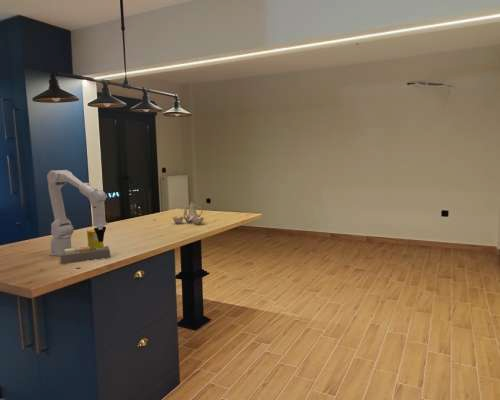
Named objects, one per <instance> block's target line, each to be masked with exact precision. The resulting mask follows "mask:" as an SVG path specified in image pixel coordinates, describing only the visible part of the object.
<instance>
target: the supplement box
mask: <svg viewBox="0 0 500 400" xmlns="http://www.w3.org/2000/svg"><path fill="white" fill-rule="evenodd" d="M86 234H87V247H89V246H90V248H96V247H105V246H104V241H103V242H99V241H98V238H97V234H96V232H95V230H94V229H89V230H87V231H86Z"/></svg>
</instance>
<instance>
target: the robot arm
mask: <svg viewBox="0 0 500 400" xmlns="http://www.w3.org/2000/svg"><path fill="white" fill-rule="evenodd" d="M46 177H47V178H46V179H47V184H48V185H47V187H48V188H47V189H48V192H49V197H50V204H51V209H52V213H53V216H54V217H53V218H54V221H53V222H51V224H50V227H51V228H50V233H51V236H52V237H53V238H51V239H50V243H49V244H50V253H51V254H50V256H59V257H60V255H61V251H65V249H71V248H72V247H73V246H72V235H73V233H74V232H75V230H74V229H75V228H74V226H73V224H72V222H71V220H70V219H69V218H67V216H66V211H65V204H64V199H63V195H62V190H61V189H62V188H63V186H64V185H66V184H67V183H69V184H71V185H72V186H74V187H75V188H77V189H79V193H81V194H82V195H84V196H85V197H87V198H88V200H89V203H90V206H91V207H92V221H93V222H92V223H93V224H92V226H93V227H94V228H93V230H95V232H96V234H97V238H98V241H99V242H103V243H104V240H105V239H104V238H105V233H106V230H107V227H106V226H107V225H109V223H108V222H107V221H106V209H105V207H106V206H105V201H106V200H107V194H106V192H105V191H104V190H102V189H101V190H99V189H98V188H97V187H94V186H93V185H91V183H90V182H83V181H81V180H80V179H78V177H76V176H75V175H74V174H73V173H72V172H71V171H69V170H68V169H63V170H60V169H58V170H54V169H53V170H50V171H49V172H48V173H47V175H46Z"/></svg>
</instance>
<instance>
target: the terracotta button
mask: <svg viewBox="0 0 500 400" xmlns="http://www.w3.org/2000/svg"><path fill="white" fill-rule="evenodd" d="M79 249H80V251H81V252H88V251H90V246H89V247H88V246H82V247H79Z"/></svg>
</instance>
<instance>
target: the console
mask: <svg viewBox="0 0 500 400" xmlns="http://www.w3.org/2000/svg"><path fill="white" fill-rule="evenodd" d="M104 247H105V250H96V248H101V247H96V248H90V251H88V252H81V251H80V248H79V249H75V253H71V254H65V251H61V255H60V256H59V257H60V264H61V265H64V264H72V263H79V262H86V261H87V260H89V261H96V260H95V259H97V260H103V259H102V258H105V259H111V250H110V247H109V246H108V245H107V246H106V245H105V246H104ZM87 262H88V261H87Z"/></svg>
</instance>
